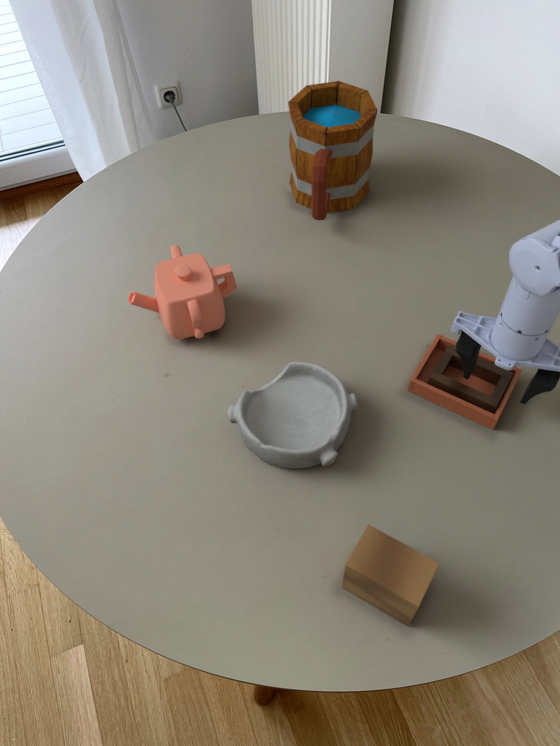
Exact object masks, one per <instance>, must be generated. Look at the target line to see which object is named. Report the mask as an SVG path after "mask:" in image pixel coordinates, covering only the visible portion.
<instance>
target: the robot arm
mask: <svg viewBox="0 0 560 746" xmlns="http://www.w3.org/2000/svg"><path fill="white" fill-rule="evenodd" d="M508 265H509V268H510V271H511V274H512V278H511V281H510V283H509V285H508V288H507V290H506V293H505V296H504V298H503V301H502V303H501V307H500V309H499V311H498V315H497V317H492V316H484V315H477V314H471V313H467V312H464V311H462V310H459V311H458V313H457V315H456V316H455V318H454V319H453V322H452V325H451V329H450V333H452V334H455V335H459V337H458V339H457V341H456V342H457V343H456V346H455V351H456V352H457V354H458V355H459V357H460V359H461V361H462V365H463V378H465V379H467V380H468V379H469V377H470V375H471V373H472V371H473V370H474V367H475V365H476V363H477V359H478V355H479V352H481V348H482V347H483V348H484V349H485V351H487V352H489V353H490V354H491V355H493V356H494V358H496V360H495V364H496V365H497V366H499V367H501V368H503V369H506V370H509V371H510V370H512V369H513V367H514V366H515V367H525V368H532V369H536V372H535V374H534V375H533V377H532V378H531V380H530V381H529V383H528V384H527V386H526V388H525V390H524V392H523V395H522V397H521V399H520V400H519V403H520V404H522V405H527V403H528V402H529V401H530V400H532V399H533V398H535V397H537V396H538V395H540V394H544V393H549V392H550V393H551V392H552V391H553V390H555V388H556V387H557V385H558V383H559V381H560V346H559V345H558V344H556V343H554V341H552V340H551V339H550V338H548V336H549V334H550V332H551V331H552V329H553V326H554V324H555V323H556V320H557V318H558V316H559V314H560V219H559V220H558V219H557V220H556V221H554V222H551V223H550V224H548V225H546V226H544V227H542V228H540V229H538V230H536V231H534V232H531V233H529V234H528V235H526V236H524V237H522V238H520V239H519V240H517V241H516V242H514V243H513V244H512V245H511V247H510V250H509V254H508Z"/></svg>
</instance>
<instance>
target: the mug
mask: <svg viewBox="0 0 560 746" xmlns="http://www.w3.org/2000/svg"><path fill="white" fill-rule="evenodd" d="M287 104H288V111H289V120H290V121H289V123H290V125H289V126H290V127H289V129H290V131H289V142H288V146H289V147H288V148H289V156H290V175H289V176H290V177H289V185H290V189H291V191H292V195H293V198H294V201H295V203H296V204H298V205H301V206H303V207H305V208H308V209H310V210H311V212H310V213H311V218H313V220H316V221H324V220H325V219H326V218H327V216H328V214H331V213H336V212H337V213H338V212H342V211H350V210H354V209H355V208H356V207H357V206H358V205H359V204H360V202H361V201H362V200H363V199H364V198H365V197H366V196H367V194H368V193H369V192H370V182H369V180H370V178H369V177H370V170H371V164H372V159H373V154H374V131H375V130H374V129H375V122H376V118H377V114H378V108H377V105H376V104H375V101H374V99H373V98H372V95H371V94H370V91H369V90H367V89H364V88H362V87H358V86H356V85H352V84H349V83H346V82H344V81H341V80H336V81H328V82H321V83H314V84H307V85H305V86H304V87H303V88H302V89H300V90H299V92H298V93H296V94H295V95H294V96H293V97H292V98H290V100H289V101H287Z"/></svg>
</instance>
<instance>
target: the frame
mask: <svg viewBox="0 0 560 746" xmlns="http://www.w3.org/2000/svg"><path fill="white" fill-rule="evenodd" d="M449 365H450V366H452V367H455V368H457V369H459V370H462V371H463V365H462V361H461V359H460V357H459V355H458V354H457V352H456V351H455V348H453V347H451V346H449V345H448V346H447V348H446V349H445V351H444V353H443V354H442V356H441V358H440V360H439V361H438V363H437V365H436V366H435V368H434V370H433V372H432V373H431V375H430V377H429V380H428V384H429V385H431V386H433V387H435V388H438V389H440V390H442V391H444V392H446V393H449V394H451V395H453V396H455V397H457V398H460V399H462V400H464V401H466V402H468V403H471V404H473V405H475V406H477V407H479V408H482V409H484V410H486V411H488V412H490V413H493V414H494V412H495V410H496V408H497V406H498V404H499V402H500V400H501V398H502V396H503V394H504V392H505V390H506V388H507V386H508V384H509V382H510V380H511V378H512V376H513V373H512V372H510V371H507V370H505V369H503V368H500V367H498V366H496V365H493V364H491V363H489V362H486V361H484V360H482V359H479V358H478V359H477V363H476V365H475V367H474V370H473V371H472V373H471V375H473V376H475V377H478V378H480V379H482V380H484V381H487V382H489V383H491V384H493V385H496V387H495V389H494V391H493V393H492V395H491V396H489V395H487V394H485V393H482V392H480V391H478V390H476V389H473V388H471V387H469V386H467V385H464V384H462V383H460V382H458V381H455V380H453V379H451V378H449V377H446V376H444V374H445V372H446V371H447V369H448V367H449Z"/></svg>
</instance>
